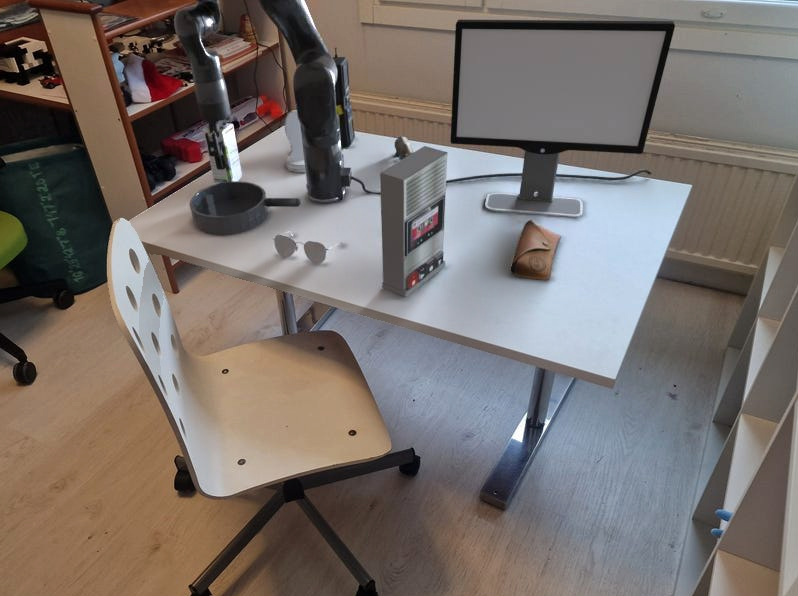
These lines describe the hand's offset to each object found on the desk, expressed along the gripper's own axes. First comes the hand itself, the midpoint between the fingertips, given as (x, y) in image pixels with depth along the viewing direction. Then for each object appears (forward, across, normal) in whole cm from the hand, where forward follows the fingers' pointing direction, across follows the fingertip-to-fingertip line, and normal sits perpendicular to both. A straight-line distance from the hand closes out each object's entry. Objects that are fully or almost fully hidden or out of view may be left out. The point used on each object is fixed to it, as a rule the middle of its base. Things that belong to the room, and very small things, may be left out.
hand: (225, 162), depth 164 cm
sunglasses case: (+6, -33, -76) cm, 83 cm away
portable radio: (+6, +26, -27) cm, 38 cm away
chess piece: (+6, +12, -18) cm, 23 cm away
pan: (+6, -17, -5) cm, 19 cm away
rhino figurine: (+6, +12, -46) cm, 48 cm away
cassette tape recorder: (+6, -42, -51) cm, 66 cm away
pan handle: (+3, -17, -18) cm, 25 cm away
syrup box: (+5, 0, 0) cm, 5 cm away
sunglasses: (+6, -32, -27) cm, 42 cm away
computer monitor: (+6, -11, -78) cm, 79 cm away
